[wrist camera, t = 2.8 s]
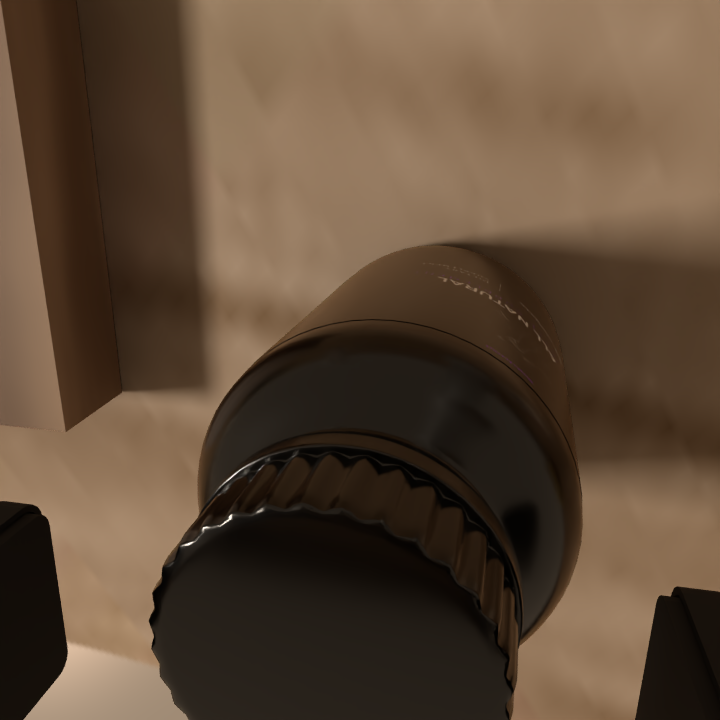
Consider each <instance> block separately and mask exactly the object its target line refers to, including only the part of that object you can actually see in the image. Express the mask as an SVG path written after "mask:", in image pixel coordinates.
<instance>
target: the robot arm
mask: <svg viewBox="0 0 720 720" xmlns="http://www.w3.org/2000/svg"><path fill="white" fill-rule="evenodd" d="M67 654H68V650H67V642H66V635H65V628H64V621H63V614H62V607H61V601H60V594H59V587H58V580H57V573H56V566H55V559H54V553H53V546H52V539H51V532H50V525H49V522H48V519H47V518H46V517H45V516H43V515H42V514H41V511H40V510H39V508H38V507H37V506H35V505H31V504H23V503H15V502H7V501H0V720H23V719H24V718H25V717H26V716H27V715H28V713H29V712H30V711H31V710H32V708H33V707H34V706H35V705H36V704H37V702H38V701H39V700H40V698H41V697H42V696H43V695H44V694H45V693H46V691H47V690H48V689H49V688H50V686H51V685H52V684H53V683H54V681H55V680H56V679H57V678H58V677H59V675H60V674H61V672H62V671H63V668H64V666H65V663H66V660H67ZM635 720H720V592H717V591H709V590H701V589H693V588H685V587H675V588H674V590H673V592H672V595H671V597H670V596H662V595H661V596H659V597H658V599H657V603H656V608H655V613H654V619H653V624H652V630H651V636H650V641H649V647H648V652H647V658H646V663H645V669H644V674H643V680H642V685H641V691H640V696H639V702H638V707H637V713H636V718H635Z"/></svg>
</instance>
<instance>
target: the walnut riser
mask: <svg viewBox="0 0 720 720" xmlns="http://www.w3.org/2000/svg"><path fill="white" fill-rule="evenodd" d="M120 393H122V388H121V379H120V371H119V362H118V354H117V345H116V337H115V328H114V320H113V311H112V303H111V294H110V286H109V277H108V269H107V260H106V251H105V243H104V234H103V226H102V217H101V209H100V200H99V192H98V183H97V175H96V166H95V158H94V149H93V141H92V132H91V124H90V115H89V106H88V98H87V89H86V81H85V72H84V64H83V55H82V47H81V38H80V30H79V21H78V13H77V4H76V0H0V425H7V426H16V427H24V428H33V429H42V430H51V431H59V432H67V431H68V430H69V429H71V428H72V427H74V426H75V425H77V424H78V423H79V422H81V421H82V420H84V419H85V418H86V417H88V416H89V415H91V414H92V413H93V412H95V411H96V410H98V409H99V408H101V407H102V406H103V405H105V404H106V403H108V402H109V401H110V400H112V399H113V398H115V397H116V396H117V395H119V394H120Z"/></svg>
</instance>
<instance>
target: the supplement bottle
mask: <svg viewBox="0 0 720 720" xmlns="http://www.w3.org/2000/svg"><path fill="white" fill-rule="evenodd" d="M198 505H199V516H198V518H197V519H196V521H195V522H194V523H193V524H192V525H191V527H190V528H189V529H188V530H187V532H186V533H185V534H184V536H183V538H182V540H181V541H180V542H179V544H178V545H177V546H176V547H175V548H174V550H173V551H172V552H171V553H170V555H169V556H168V557H167V559H166V561H165V563H164V565H163V568H162V577H161V579H160V580H159V581H158V583H157V584H156V586H155V588H154V590H153V593H152V594H153V602H154V607H155V608H154V610H153V612H152V614H151V616H150V618H149V623H150V626H151V629H152V631H153V634H154V639H153V642H152V648H151V649H152V651H153V653H154V655H155V656H156V658H157V660H158V662H159V663H160V677H161V678H162V680H163V681H164V683H165V684H166V685H167V686H168V687H169V689H170V690H171V694H172V698H173V701H174V704H175V705H176V706H177V707H178V708H179V709H180V710H181V711H183V713H185V714H186V715H187V717H188V719H189V720H511V717H512V713H513V701H514V690H515V686H516V682H517V667H518V648H519V646H520V645H521V644H522V643H524V642H525V641H526V640H527V639H528V638H529V637H530V636H532V635H533V634H534V633H535V632H536V631H537V630H538V629H539V628H540V627H541V625H542V624H543V623H544V622H545V621H546V619H547V618H548V617H549V616H550V615H551V613H552V612H553V610H554V609H555V607H556V606H557V604H558V603H559V601H560V600H561V598H562V597H563V595H564V593H565V591H566V589H567V587H568V585H569V582H570V580H571V577H572V574H573V572H574V569H575V566H576V563H577V559H578V555H579V550H580V546H581V537H582V527H583V519H582V491H581V484H580V477H579V469H578V462H577V455H576V448H575V441H574V434H573V426H572V419H571V412H570V405H569V398H568V391H567V384H566V377H565V369H564V362H563V356H562V351H561V346H560V342H559V338H558V335H557V332H556V329H555V326H554V324H553V321H552V319H551V317H550V315H549V313H548V311H547V309H546V308H545V306H544V305H543V303H542V301H541V300H540V298H539V297H538V296H537V295H536V293H535V292H534V291H533V290H532V288H531V287H530V286H529V285H528V284H527V283H526V282H525V281H524V280H523V279H521V278H520V277H519V276H518V275H517V274H516V273H514V272H513V271H512V270H510V269H509V268H507V267H506V266H504V265H503V264H501V263H499V262H497V261H496V260H494V259H492V258H490V257H487V256H485V255H483V254H480V253H477V252H474V251H471V250H467V249H463V248H458V247H451V246H437V245H429V246H418V247H412V248H407V249H403V250H400V251H396V252H393V253H391V254H388V255H386V256H383V257H381V258H379V259H377V260H375V261H373V262H372V263H370V264H368V265H367V266H365V267H364V268H362V269H361V270H359V271H358V272H357V273H356V274H354V275H353V276H352V277H351V278H349V279H348V280H347V281H346V282H344V283H343V284H342V285H341V286H340V287H339V288H338V289H336V290H335V291H334V292H333V293H332V294H331V295H330V296H329V297H327V298H326V299H325V300H324V301H323V302H322V303H321V304H320V305H318V306H317V307H316V308H315V309H314V310H313V311H312V312H311V313H309V314H308V315H307V316H306V317H305V318H304V319H303V320H302V321H300V322H299V323H298V324H297V325H296V326H295V327H294V328H293V329H291V330H290V331H289V332H288V333H287V334H286V335H285V336H284V337H282V338H281V339H280V340H279V341H278V342H277V343H276V344H275V345H273V346H272V347H271V348H270V349H269V350H268V351H267V352H266V353H264V354H263V355H262V356H261V357H260V358H259V359H258V360H257V361H256V362H255V363H254V364H253V365H252V366H251V367H250V368H249V369H248V370H247V371H246V372H245V373H244V374H243V375H242V376H241V377H240V378H239V379H238V381H237V382H236V383H235V384H234V385H233V387H232V388H231V389H230V390H229V392H228V393H227V394H226V396H225V397H224V399H223V400H222V402H221V404H220V405H219V407H218V408H217V410H216V412H215V414H214V416H213V419H212V421H211V423H210V425H209V427H208V430H207V433H206V436H205V439H204V442H203V446H202V451H201V456H200V461H199V470H198Z"/></svg>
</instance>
